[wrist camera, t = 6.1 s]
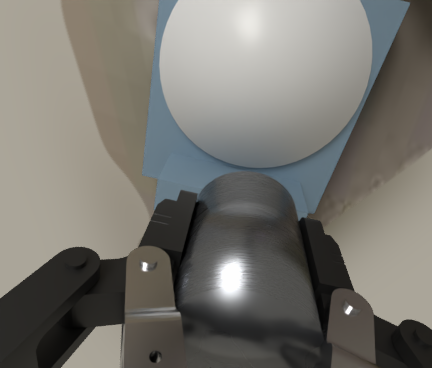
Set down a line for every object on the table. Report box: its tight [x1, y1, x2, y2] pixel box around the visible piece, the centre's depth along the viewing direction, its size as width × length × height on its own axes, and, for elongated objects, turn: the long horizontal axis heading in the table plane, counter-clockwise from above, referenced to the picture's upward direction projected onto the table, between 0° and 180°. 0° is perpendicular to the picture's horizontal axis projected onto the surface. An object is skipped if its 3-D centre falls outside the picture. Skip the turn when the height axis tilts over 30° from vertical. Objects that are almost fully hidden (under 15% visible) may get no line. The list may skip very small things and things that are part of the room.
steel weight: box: [173, 171, 324, 368], centre depth 11 cm, size 4×4×6 cm
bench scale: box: [142, 0, 410, 220], centre depth 21 cm, size 16×14×8 cm
